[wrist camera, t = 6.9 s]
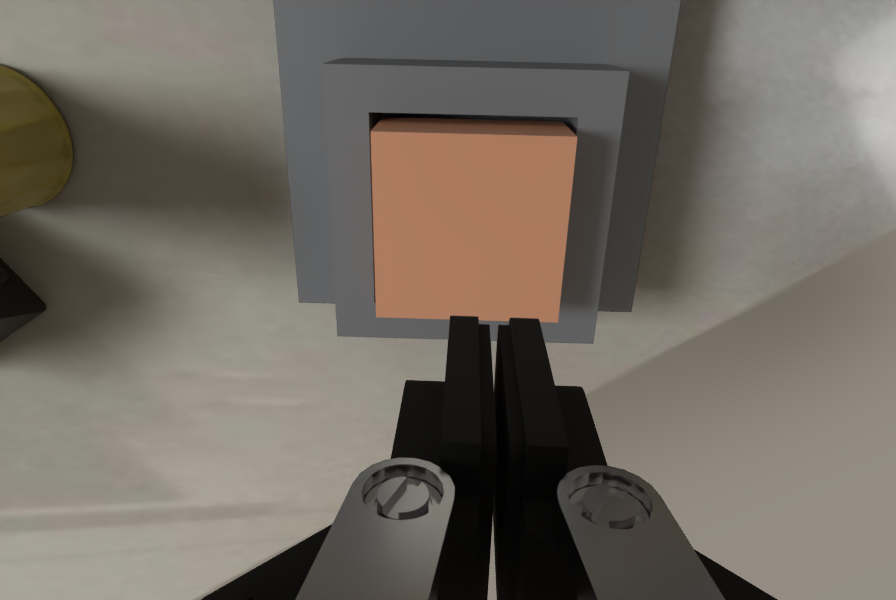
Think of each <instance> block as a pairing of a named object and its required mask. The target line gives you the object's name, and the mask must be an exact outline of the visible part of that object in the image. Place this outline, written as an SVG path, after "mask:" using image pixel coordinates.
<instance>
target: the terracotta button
mask: <svg viewBox="0 0 896 600" xmlns="http://www.w3.org/2000/svg"><path fill="white" fill-rule="evenodd" d="M576 146H577V136H576V135H575V134H574V133H573V132H572V131H571V130H570V129H569V128H568V127H567V126H566V125H565V124H564V123H563V122H562V121H523V120H483V119H443V118H404V117H382V119H381V120H380V121H379V122H378V123H377V124H376V126H375V127H374V128H373V129H372V130H371V164H372V197H373V231H374V265H375V299H376V317H382V318H416V319H450V316H478V318H479V320H485V321H509V319H510V318H537V319H539V321H540V322H553V323H558V317H559V308H560V298H561V289H562V279H563V270H564V260H565V251H566V241H567V232H568V222H569V213H570V203H571V194H572V184H573V175H574V165H575V156H576Z"/></svg>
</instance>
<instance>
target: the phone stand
mask: <svg viewBox="0 0 896 600" xmlns="http://www.w3.org/2000/svg"><path fill="white" fill-rule="evenodd" d="M45 310H46V305H45V303H44V302H43V301H42V300H41V299H40V298H39V297H38V296H37V295H36V294H35V293H34V292H33V291H32V290H31V289H30V288H29V287H28V286H27V285H26V284H25V283H24V282H23V280H22V279H21V278H20V277H19V276H18V275H17V274H16V273H15V272H14V271H13V270H12V269H11V268H10V267H9V266H8V265H7V264H6V263H5V262H4V261H3V260H2V259H1V258H0V341H2V340H3V339H5V338H6V337H8V336H9V335H10V334H12V333H13V332H15V331H16V330H18V329H19V328H21V327H22V326H23V325H25V324H26V323H28V322H29V321H31V320H32V319H33V318H35V317H36V316H38V315H39V314H41V313H42V312H43V311H45Z"/></svg>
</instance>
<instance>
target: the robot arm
mask: <svg viewBox="0 0 896 600" xmlns="http://www.w3.org/2000/svg"><path fill="white" fill-rule="evenodd" d="M492 518H493V522H494V523H493V524H494V545H495V569H496V591H497V600H777V599H775V598H774V597H772V596H770V595H769V594H767V593H765V592H764V591H762V590H760V589H759V588H757V587H756V586H754V585H752V584H751V583H749V582H747V581H746V580H744V579H742V578H741V577H739V576H737V575H736V574H734V573H732V572H731V571H729V570H727V569H726V568H724V567H722V566H721V565H719V564H718V563H716V562H714V561H713V560H711V559H709V558H708V557H706V556H704V555H703V554H701V553H699V552H698V551H696V550H694V549H693V547H692V546H691V544H690V542H689V541H688V539H687V538H686V536H685V534H684V533H683V531H682V530H681V528H680V527H679V525H678V523H677V522H676V520H675V519H674V517H673V515H672V514H671V512H670V510H669V509H668V507H667V505H666V504H665V502H664V501H663V499H662V497H661V496H660V495H659V494H658V492H657V491H656V490H655V489H654V488H653V486H651V485H650V484H649V483H648V482H646V481H645V480H643V479H642V478H641V477H639V476H637V475H635V474H633V473H631V472H628V471H626V470H624V469H619V468H615V467H611V466H607V463H606V460H605V456H604V453H603V450H602V447H601V444H600V440H599V437H598V434H597V431H596V428H595V424H594V421H593V418H592V415H591V412H590V408H589V405H588V402H587V399H586V396H585V393H584V390H583V388H582V387H578V386H555V384H554V380H553V376H552V372H551V367H550V363H549V359H548V355H547V350H546V346H545V342H544V338H543V333H542V329H541V325H540V321H539V319H537V318H510V319H509V325H498V333H497V350H496V367H495V384H494V388H493V372H492V356H491V340H490V325H489V324H479V318H478V316H450V324H449V337H448V350H447V363H446V377H445V382H442V381H415V380H406V382H405V387H404V392H403V397H402V403H401V408H400V413H399V418H398V424H397V429H396V434H395V439H394V445H393V450H392V455H391V459H388V460H384V461H381V462H379V463H376V464H373V465H371V466H370V467H368V468H367V469H365V470H364V471H363V472H361V473H360V474H359V475H358V477H357V478H356V479H355V481H354V482H353V484H352V486H351V488H350V490H349V492H348V494H347V496H346V498H345V500H344V502H343V504H342V506H341V508H340V510H339V512H338V514H337V516H336V518H335V520H334V522H333V524H332V525H330V526H328V527H326V528H325V529H323V530H321V531H319V532H318V533H316V534H314V535H312V536H311V537H309V538H307V539H305V540H304V541H302V542H300V543H298V544H297V545H295V546H293V547H291V548H290V549H288V550H286V551H284V552H283V553H281V554H279V555H277V556H276V557H274V558H272V559H270V560H269V561H267V562H265V563H263V564H262V565H260V566H258V567H256V568H255V569H253V570H251V571H249V572H248V573H246V574H244V575H242V576H241V577H239V578H237V579H235V580H234V581H232V582H230V583H228V584H227V585H225V586H223V587H221V588H220V589H218V590H216V591H214V592H213V593H211V594H209V595H207V596H206V597H204V598H203V599H202V600H487V595H488V579H489V564H490V548H491V532H492Z"/></svg>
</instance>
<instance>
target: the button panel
mask: <svg viewBox="0 0 896 600" xmlns="http://www.w3.org/2000/svg"><path fill="white" fill-rule="evenodd" d="M680 1H681V0H273V4H274V15H275V27H276V39H277V51H278V62H279V74H280V86H281V97H282V109H283V121H284V133H285V144H286V156H287V168H288V179H289V191H290V203H291V214H292V226H293V238H294V250H295V261H296V273H297V285H298V296H299V303H333V304H336V319H337V336H347V337H381V338H415V339H448V337H449V324H450V319H416V318H382V317H376V299H375V265H374V231H373V197H372V164H371V130H372V129H373V128H374V127H375V126H376V124H377V123H378V122H379V121H380V120H381V119H382V117H404V118H443V119H483V120H523V121H562V122H563V123H564V124H565V125H566V126H567V127H568V128H569V129H570V130H571V131H572V132H573V133H574V134H575V135H576V136H577V146H576V156H575V165H574V175H573V184H572V194H571V203H570V213H569V222H568V232H567V241H566V251H565V260H564V270H563V279H562V289H561V298H560V308H559V317H558V323H553V322H540V325H541V329H542V333H543V338H544V342H550V343H584V344H593V341H594V334H595V326H596V319H597V311H610V312H631V311H632V305H633V299H634V292H635V286H636V280H637V273H638V267H639V261H640V254H641V248H642V242H643V235H644V229H645V223H646V216H647V210H648V204H649V197H650V191H651V185H652V178H653V172H654V166H655V159H656V153H657V147H658V140H659V134H660V128H661V122H662V115H663V109H664V103H665V96H666V90H667V84H668V77H669V71H670V65H671V58H672V52H673V46H674V39H675V33H676V27H677V20H678V14H679V8H680ZM479 324H489V325H490V340H491V341H497V333H498V325H509V321H485V320H479Z"/></svg>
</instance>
